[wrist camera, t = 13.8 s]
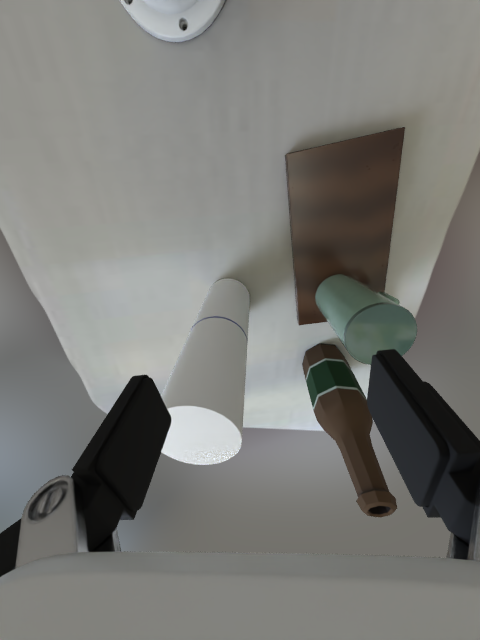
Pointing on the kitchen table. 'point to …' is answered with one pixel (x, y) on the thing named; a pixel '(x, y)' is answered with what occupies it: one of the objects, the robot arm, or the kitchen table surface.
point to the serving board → (342, 213)
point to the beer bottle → (347, 424)
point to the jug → (365, 317)
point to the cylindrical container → (210, 380)
